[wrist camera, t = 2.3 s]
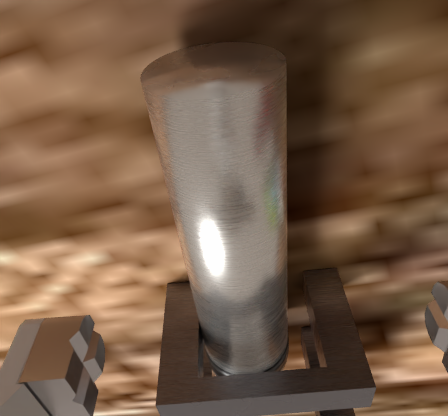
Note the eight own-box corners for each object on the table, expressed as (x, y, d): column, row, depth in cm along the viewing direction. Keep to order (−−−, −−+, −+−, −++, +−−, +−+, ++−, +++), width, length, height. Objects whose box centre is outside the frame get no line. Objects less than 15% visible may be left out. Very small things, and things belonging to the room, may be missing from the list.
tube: (168, 42, 16) (113, 98, 13) (295, 39, 15) (276, 100, 11) (218, 310, 28) (197, 381, 24) (293, 321, 27) (282, 397, 23)
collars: (167, 283, 25) (152, 437, 18) (336, 267, 24) (386, 418, 18) (193, 370, 32) (189, 505, 25) (326, 359, 31) (359, 493, 24)
